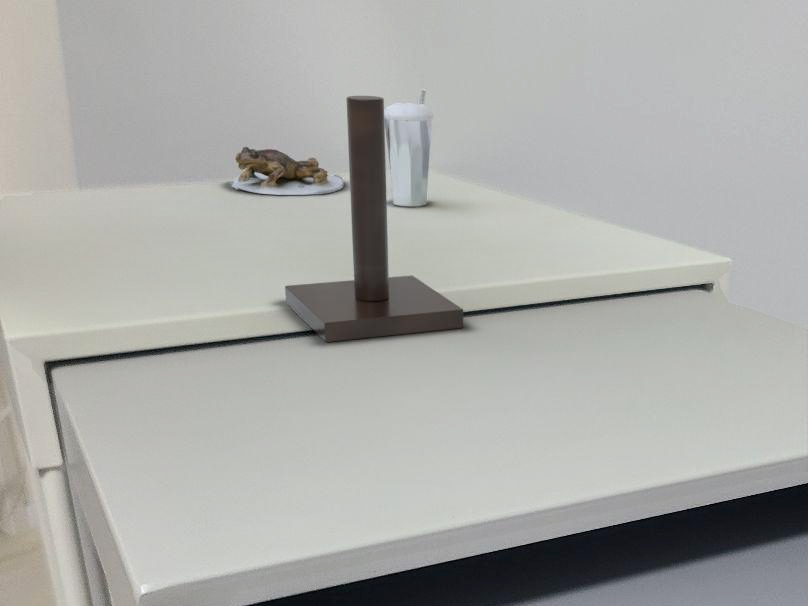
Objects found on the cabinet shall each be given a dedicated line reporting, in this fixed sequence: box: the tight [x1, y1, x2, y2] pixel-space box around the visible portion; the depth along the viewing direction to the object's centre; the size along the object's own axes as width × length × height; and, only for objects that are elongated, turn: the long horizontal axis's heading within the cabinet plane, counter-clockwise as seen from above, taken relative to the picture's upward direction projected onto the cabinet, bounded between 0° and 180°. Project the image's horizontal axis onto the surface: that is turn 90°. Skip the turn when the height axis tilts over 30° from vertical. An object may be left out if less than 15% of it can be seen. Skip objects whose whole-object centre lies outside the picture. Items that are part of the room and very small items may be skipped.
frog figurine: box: [229, 146, 345, 196], centre depth 108 cm, size 12×12×4 cm
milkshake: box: [384, 89, 434, 208], centre depth 101 cm, size 4×5×10 cm
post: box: [284, 95, 464, 343], centre depth 67 cm, size 9×9×13 cm
